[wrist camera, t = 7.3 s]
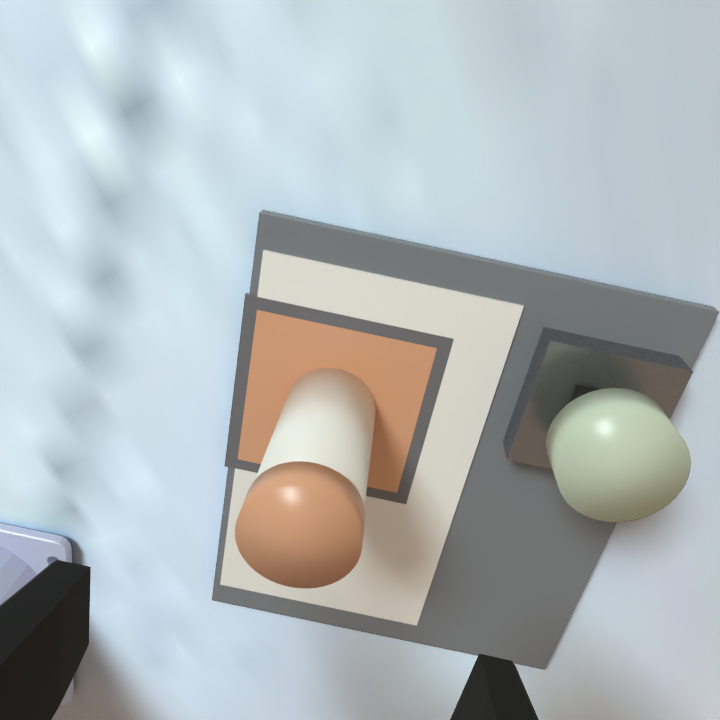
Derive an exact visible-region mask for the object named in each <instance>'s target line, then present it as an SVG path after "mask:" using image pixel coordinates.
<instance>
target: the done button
mask: <svg viewBox="0 0 720 720" xmlns="http://www.w3.org/2000/svg"><path fill="white" fill-rule="evenodd" d="M546 450H547V455H548V458H549V461H550V464H551V467H552V470H553V473H554V476H555V479H556V482H557V485H558V487H559V490H560V493H561V494H562V496H563V498H564V499H565V501H566V502H567V503H568V504H569V505H570V506H571V507H572V508H573V509H575V510H576V511H577V512H579V513H581V514H583V515H585V516H587V517H590V518H592V519H596V520H600V521H606V522H625V521H632V520H636V519H640V518H643V517H646V516H649V515H651V514H653V513H655V512H657V511H659V510H660V509H662V508H664V507H665V506H666V505H668V504H669V503H670V502H671V501H672V500H673V499H675V498H676V496H677V495H678V494H679V493H680V492H681V490H682V489H683V487H684V485H685V484H686V481H687V479H688V476H689V473H690V466H691V459H690V453H689V449H688V447H687V445H686V443H685V441H684V440H683V438H682V437H681V435H680V434H679V432H678V431H677V430H676V428H675V427H674V425H673V424H672V423H671V421H670V420H669V418H668V417H667V416H666V414H665V413H664V411H663V410H662V408H661V407H660V406H659V405H658V404H657V403H656V402H655V401H653V400H652V399H651V398H649V397H648V396H646V395H644V394H642V393H639V392H637V391H633V390H630V389H623V388H607V389H600V390H596V391H592V392H589V393H586V394H584V395H582V396H580V397H578V398H576V399H574V400H573V401H571V402H570V403H568V404H567V405H566V406H565V407H564V408H563V409H562V410H561V411H560V412H559V413H558V414H557V415H556V417H555V418H554V420H553V421H552V423H551V425H550V427H549V430H548V433H547V439H546Z"/></svg>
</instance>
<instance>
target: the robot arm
mask: <svg viewBox="0 0 720 720" xmlns="http://www.w3.org/2000/svg"><path fill="white" fill-rule="evenodd" d="M57 558H58V559H57ZM89 606H90V567H88V566H83V565H79V564H74V563H72V547H71V544H70V542H69V541H68V540H67V539H66V538H64V537H62V536H59V535H55V534H50V533H45V532H41V531H36V530H31V529H26V528H22V527H17V526H12V525H7V524H2V523H0V720H51V719H52V717H53V716H54V714H55V712H56V710H57V709H58V707H59V706H64V705H68V704H69V703H70V701H71V700H72V698H73V695H74V675H75V673H76V670H77V668H78V666H79V664H80V662H81V660H82V657H83V655H84V653H85V651H86V649H87V647H88V644H89ZM450 720H539V719H538V717H537V715H536V713H535V710H534V708H533V706H532V704H531V701H530V699H529V697H528V694H527V692H526V690H525V687H524V685H523V683H522V680H521V678H520V676H519V673H518V671H517V669H516V666H515V665H514V663H513V662H512V661H511V660H506V659H502V658H497V657H493V656H488V655H484V654H479V655H478V658H477V660H476V662H475V665H474V667H473V669H472V671H471V674H470V676H469V678H468V681H467V683H466V685H465V687H464V690H463V692H462V694H461V697H460V699H459V701H458V703H457V706H456V708H455V710H454V713H453V715H452V717H451V719H450Z"/></svg>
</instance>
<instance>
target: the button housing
mask: <svg viewBox="0 0 720 720" xmlns="http://www.w3.org/2000/svg"><path fill="white" fill-rule="evenodd" d="M692 373H693V371H692V370H691V369H690V367H689V366H688V365H687V364H686V363H685V362H684V361H683V360H682V359H681V357H680V356H677V355H672V354H668V353H663V352H658V351H654V350H649V349H644V348H640V347H635V346H630V345H626V344H621V343H616V342H612V341H607V340H602V339H598V338H593V337H588V336H584V335H579V334H574V333H570V332H565V331H560V330H556V329H551V328H546V327H543V330H542V332H541V335H540V338H539V341H538V344H537V346H536V349H535V352H534V355H533V358H532V360H531V363H530V366H529V369H528V372H527V374H526V377H525V380H524V383H523V386H522V389H521V391H520V394H519V397H518V400H517V403H516V405H515V408H514V411H513V414H512V417H511V419H510V422H509V425H508V428H507V431H506V433H505V436H504V439H503V445H504V449H505V454H506V458H507V460H511V461H516V462H520V463H525V464H530V465H535V466H539V467H544V468H549V469H552V467H551V464H550V461H549V458H548V455H547V450H546V439H547V433H548V430H549V427H550V425H551V423H552V421H553V420H554V418H555V417H556V415H557V414H558V413H559V412H560V411H561V410H562V409H563V408H564V407H565V406H566V405H567V404H568V402H569V400H570V397H571V395H572V392H573V390H574V387H575V385H576V384H578V385H582V386H587V387H592V388H596V389H607V388H623V389H630V390H633V391H637V392H639V393H642V394H644V395H646V396H648V397H649V398H651V399H652V400H653V401H655V402H656V403H657V404H658V405H659V406H660V407H661V408H662V410H663V411H664V413H665V414H666V416H667V417H668V418H669V420H670V418H671V415H672V413H673V411H674V409H675V407H676V405H677V403H678V401H679V399H680V397H681V395H682V393H683V391H684V389H685V387H686V385H687V383H688V381H689V379H690V377H691V375H692Z"/></svg>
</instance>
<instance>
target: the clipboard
mask: <svg viewBox="0 0 720 720" xmlns="http://www.w3.org/2000/svg"><path fill="white" fill-rule="evenodd" d="M718 313H719V311H717V310H716V309H715V308H714V307H711V306H707V305H702V304H697V303H693V302H688V301H683V300H679V299H674V298H669V297H665V296H660V295H656V294H651V293H646V292H642V291H637V290H632V289H628V288H623V287H618V286H614V285H609V284H604V283H600V282H595V281H591V280H586V279H581V278H577V277H572V276H567V275H563V274H558V273H553V272H549V271H544V270H539V269H535V268H530V267H525V266H521V265H516V264H512V263H507V262H502V261H498V260H493V259H488V258H484V257H479V256H474V255H470V254H465V253H460V252H456V251H451V250H446V249H442V248H437V247H433V246H428V245H423V244H419V243H414V242H409V241H405V240H400V239H395V238H391V237H386V236H381V235H377V234H372V233H367V232H363V231H358V230H354V229H349V228H344V227H340V226H335V225H330V224H326V223H321V222H316V221H312V220H307V219H302V218H298V217H293V216H289V215H284V214H279V213H275V212H270V211H265V210H262V211H261V212H260V213H259V221H258V229H257V238H256V246H255V254H254V262H253V270H252V278H251V286H250V294H248V293H246V294H245V301H244V309H243V318H242V326H241V334H240V343H239V351H238V359H237V368H236V376H235V384H234V393H233V401H232V410H231V418H230V426H229V435H228V443H227V451H226V460H225V466H227V467H228V473H227V482H226V490H225V498H224V506H223V514H222V522H221V530H220V539H219V547H218V555H217V563H216V571H215V579H214V587H213V595H212V600H214V601H219V602H223V603H228V604H233V605H238V606H242V607H247V608H252V609H257V610H262V611H266V612H271V613H276V614H281V615H286V616H290V617H295V618H300V619H305V620H310V621H314V622H319V623H324V624H329V625H333V626H338V627H343V628H348V629H353V630H357V631H362V632H367V633H372V634H377V635H381V636H386V637H391V638H396V639H400V640H405V641H410V642H415V643H420V644H424V645H429V646H434V647H439V648H444V649H448V650H453V651H458V652H463V653H467V654H472V655H477V656H478V655H479V654H484V655H488V656H493V657H497V658H502V659H506V660H511V661H512V662H513V663H515V664H520V665H525V666H530V667H535V668H539V669H544V670H545V668H546V666H547V664H548V662H549V660H550V658H551V656H552V654H553V652H554V650H555V648H556V646H557V644H558V642H559V640H560V638H561V635H562V633H563V631H564V629H565V627H566V625H567V623H568V621H569V619H570V617H571V615H572V613H573V611H574V609H575V607H576V605H577V603H578V601H579V599H580V597H581V594H582V592H583V590H584V588H585V586H586V584H587V582H588V580H589V578H590V576H591V574H592V572H593V570H594V568H595V566H596V564H597V562H598V560H599V558H600V556H601V553H602V551H603V549H604V547H605V545H606V543H607V541H608V539H609V537H610V535H611V533H612V531H613V529H614V527H615V525H616V523H617V522H606V521H600V520H596V519H592V518H590V517H587V516H585V515H583V514H581V513H579V512H577V511H576V510H575V509H573V508H572V507H571V506H570V505H569V504H568V503H567V502H566V501H565V499H564V498H563V496H562V494H561V493H560V490H559V487H558V485H557V482H556V479H555V476H554V473H553V470H552V469H549V468H544V467H539V466H535V465H530V464H525V463H520V462H516V461H511V460H507V458H506V454H505V449H504V445H503V439H504V436H505V433H506V431H507V428H508V425H509V422H510V419H511V417H512V414H513V411H514V408H515V405H516V403H517V400H518V397H519V394H520V391H521V389H522V386H523V383H524V380H525V377H526V374H527V372H528V369H529V366H530V363H531V360H532V358H533V355H534V352H535V349H536V346H537V344H538V341H539V338H540V335H541V332H542V330H543V327H546V328H551V329H556V330H560V331H565V332H570V333H574V334H579V335H584V336H588V337H593V338H598V339H602V340H607V341H612V342H616V343H621V344H626V345H630V346H635V347H640V348H644V349H649V350H654V351H658V352H663V353H668V354H672V355H677V356H680V357H681V359H682V360H683V361H684V362H685V363H686V364H687V365H688V366H689V367H690V369H692V367H693V365H694V363H695V361H696V359H697V357H698V355H699V352H700V350H701V348H702V346H703V344H704V342H705V340H706V338H707V336H708V334H709V332H710V330H711V328H712V326H713V324H714V322H715V320H716V318H717V316H718ZM321 368H336V369H341V370H344V371H347V372H350V373H352V374H354V375H355V376H357V377H358V378H360V379H361V380H362V381H363V382H364V383H365V384H366V385H367V386H368V388H369V389H370V391H371V393H372V394H373V397H374V400H375V404H376V415H375V423H374V432H373V440H372V449H371V457H370V466H369V474H368V483H367V491H366V499H365V514H366V515H365V526H364V535H363V543H362V551H361V555H360V558H359V560H358V562H357V564H356V566H355V567H354V568H353V570H352V571H351V572H350V573H349V574H348V575H346V576H345V577H344V578H342V579H341V580H339V581H337V582H335V583H333V584H330V585H327V586H323V587H319V588H310V589H304V588H293V587H288V586H284V585H280V584H277V583H275V582H273V581H270V580H268V579H266V578H265V577H263V576H261V575H260V574H258V573H257V572H256V571H255V570H253V569H252V568H251V567H250V566H249V565H248V564H247V563H246V561H245V560H244V558H243V557H242V555H241V554H240V552H239V550H238V547H237V544H236V540H235V524H236V521H237V518H238V515H239V513H240V510H241V508H242V505H243V503H244V500H245V498H246V495H247V493H248V490H249V488H250V486H251V484H252V483H253V482H254V480H255V478H256V476H257V473H258V470H259V468H260V465H261V463H262V460H263V458H264V455H265V453H266V450H267V447H268V445H269V442H270V440H271V437H272V435H273V432H274V430H275V427H276V424H277V422H278V419H279V417H280V414H281V412H282V409H283V407H284V404H285V401H286V399H287V396H288V394H289V391H290V389H291V387H292V386H293V384H294V383H295V382H296V381H297V380H298V379H299V378H300V377H301V376H303V375H304V374H306V373H308V372H310V371H313V370H316V369H321ZM596 390H600V389H596V388H592V387H587V386H582V385H578V384H576V385H575V387H574V390H573V392H572V395H571V397H570V400H569V402H568V403H570V402H571V401H573V400H574V399H576V398H578V397H580V396H582V395H584V394H586V393H589V392H592V391H596Z"/></svg>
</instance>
